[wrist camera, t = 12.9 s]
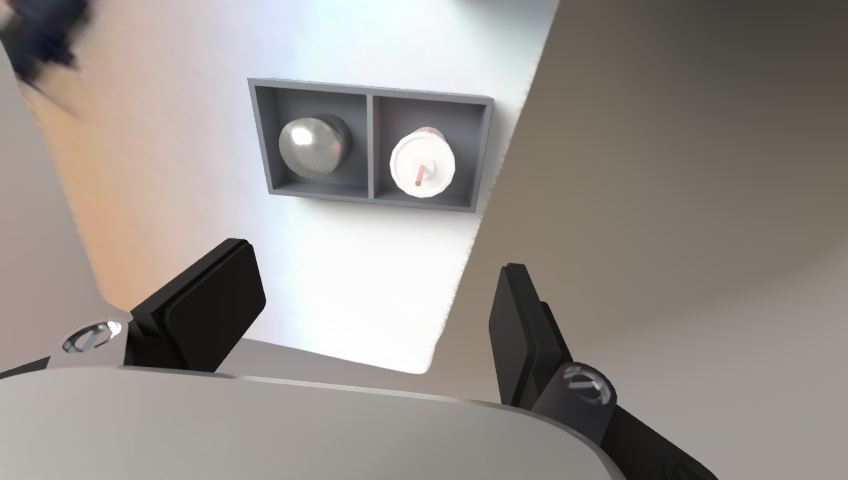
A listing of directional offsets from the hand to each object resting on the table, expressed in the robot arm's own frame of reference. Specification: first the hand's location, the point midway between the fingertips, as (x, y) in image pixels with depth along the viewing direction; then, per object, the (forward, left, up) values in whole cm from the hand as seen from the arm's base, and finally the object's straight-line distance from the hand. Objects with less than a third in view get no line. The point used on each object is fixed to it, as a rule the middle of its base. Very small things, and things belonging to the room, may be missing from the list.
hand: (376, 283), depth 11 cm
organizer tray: (+1, -5, -28) cm, 29 cm away
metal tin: (+1, -11, -28) cm, 30 cm away
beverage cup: (0, +1, -28) cm, 28 cm away
